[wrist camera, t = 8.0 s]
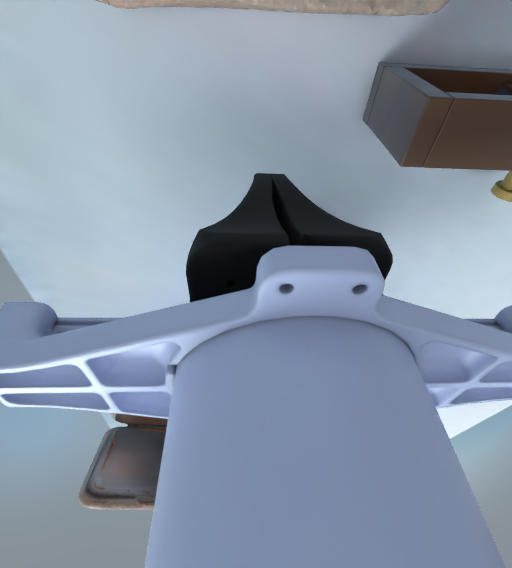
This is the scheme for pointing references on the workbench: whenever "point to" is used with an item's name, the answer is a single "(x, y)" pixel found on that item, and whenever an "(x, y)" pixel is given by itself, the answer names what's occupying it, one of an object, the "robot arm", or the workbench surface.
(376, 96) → the window frame
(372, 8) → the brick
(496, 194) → the tan flanged peg
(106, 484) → the case
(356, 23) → the workbench surface
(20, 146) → the workbench surface
